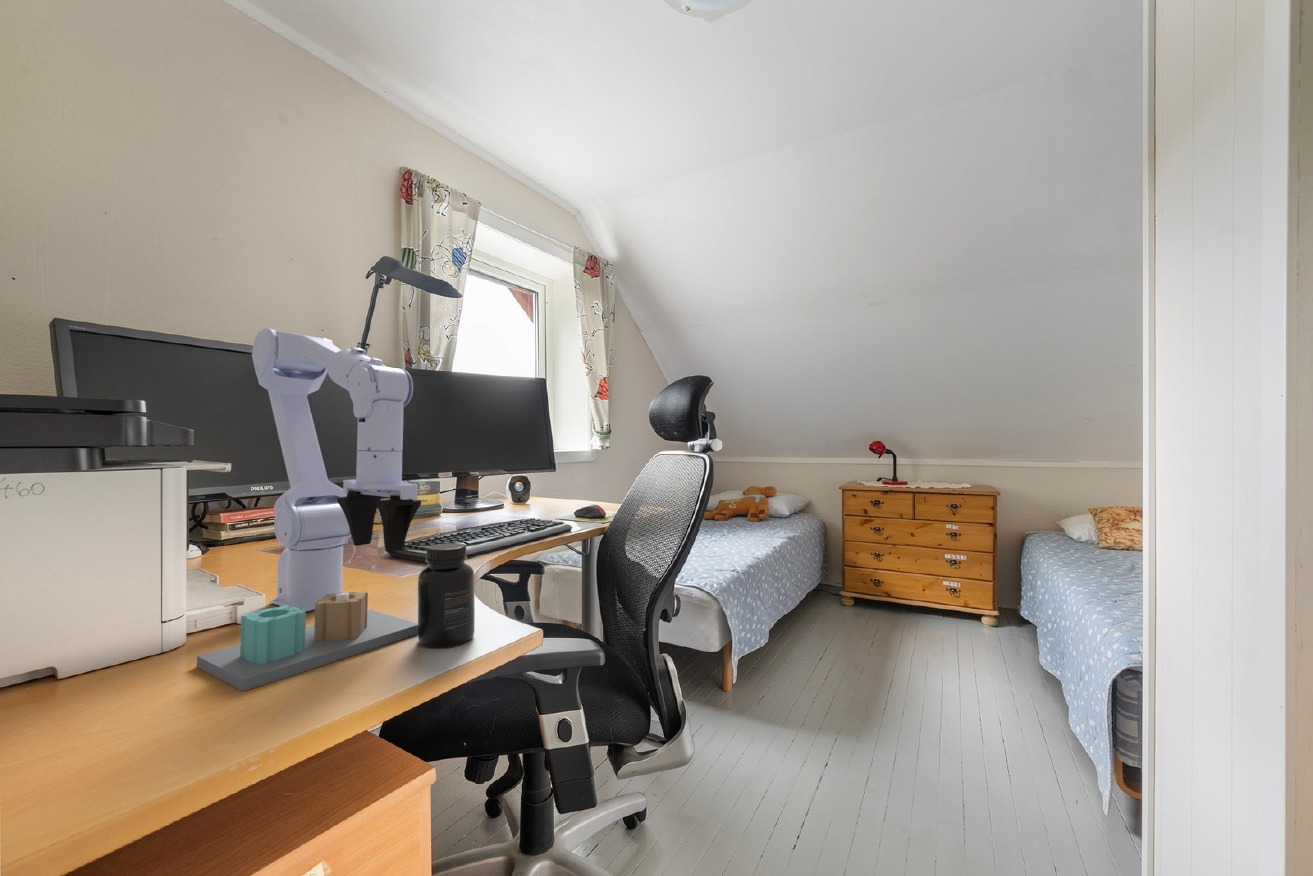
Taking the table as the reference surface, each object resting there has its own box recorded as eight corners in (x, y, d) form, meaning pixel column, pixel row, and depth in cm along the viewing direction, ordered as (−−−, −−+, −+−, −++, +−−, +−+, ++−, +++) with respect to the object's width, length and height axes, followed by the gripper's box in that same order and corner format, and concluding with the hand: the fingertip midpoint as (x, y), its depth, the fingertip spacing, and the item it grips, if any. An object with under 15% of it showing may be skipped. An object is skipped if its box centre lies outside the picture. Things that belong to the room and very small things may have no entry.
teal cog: (237, 655, 60) (238, 615, 60) (285, 642, 64) (286, 604, 64) (259, 665, 57) (260, 623, 57) (307, 650, 62) (308, 611, 62)
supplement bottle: (478, 628, 73) (479, 540, 73) (469, 647, 66) (470, 550, 66) (424, 631, 72) (425, 541, 72) (410, 651, 65) (411, 552, 65)
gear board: (196, 666, 60) (198, 611, 60) (371, 618, 77) (372, 575, 77) (242, 691, 54) (244, 630, 54) (419, 633, 71) (420, 587, 71)
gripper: (322, 449, 76) (320, 546, 76) (384, 452, 68) (381, 558, 68) (370, 450, 82) (368, 539, 82) (432, 452, 75) (429, 550, 74)
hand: (377, 547), depth 75 cm, fingers open, 7 cm apart
